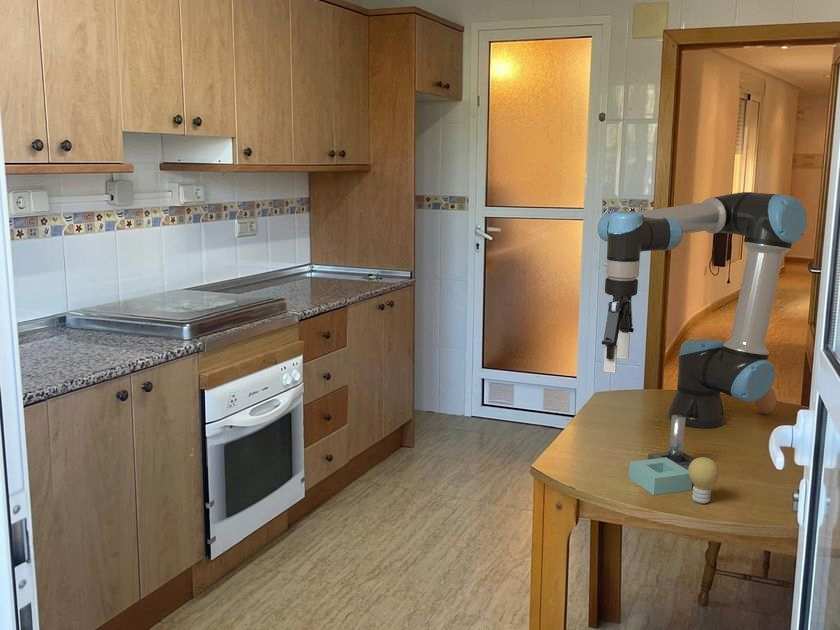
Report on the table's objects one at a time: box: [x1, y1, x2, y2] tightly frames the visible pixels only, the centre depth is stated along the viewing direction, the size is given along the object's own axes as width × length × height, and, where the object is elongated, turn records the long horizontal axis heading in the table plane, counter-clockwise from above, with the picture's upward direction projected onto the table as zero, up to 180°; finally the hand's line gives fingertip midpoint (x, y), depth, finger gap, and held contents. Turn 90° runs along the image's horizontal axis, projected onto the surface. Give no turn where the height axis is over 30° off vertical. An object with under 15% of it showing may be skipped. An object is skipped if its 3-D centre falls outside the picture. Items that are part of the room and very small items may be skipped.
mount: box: [647, 450, 695, 470], centre depth 201 cm, size 9×9×2 cm
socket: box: [628, 457, 693, 496], centre depth 192 cm, size 10×10×4 cm
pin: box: [668, 415, 686, 463], centre depth 200 cm, size 3×3×13 cm
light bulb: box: [688, 456, 720, 504], centre depth 182 cm, size 6×6×10 cm
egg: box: [754, 387, 777, 415], centre depth 243 cm, size 6×6×8 cm
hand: (616, 364), depth 201 cm, fingers open, 13 cm apart
